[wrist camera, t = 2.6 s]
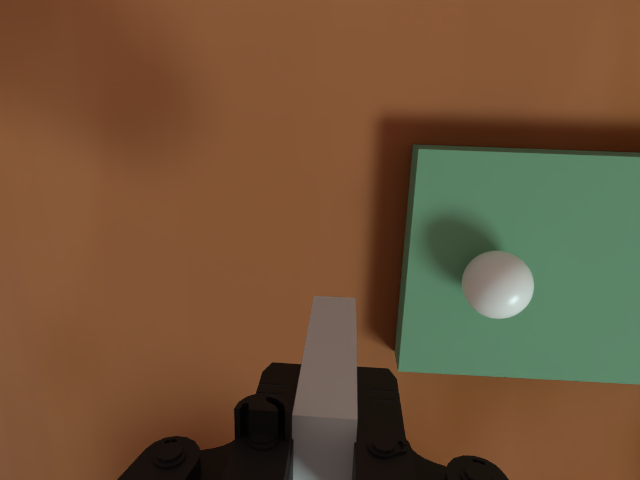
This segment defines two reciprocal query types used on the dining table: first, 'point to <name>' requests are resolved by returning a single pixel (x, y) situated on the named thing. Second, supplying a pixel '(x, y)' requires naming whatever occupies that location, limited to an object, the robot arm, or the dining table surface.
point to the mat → (535, 251)
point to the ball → (497, 284)
